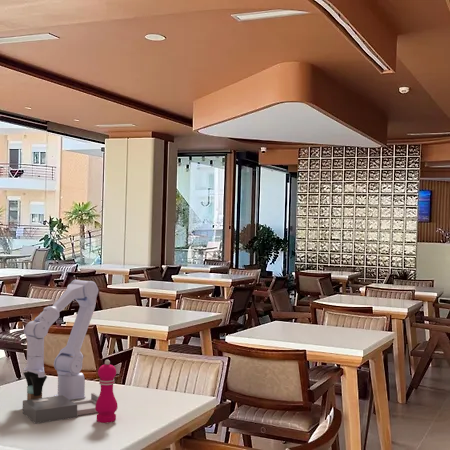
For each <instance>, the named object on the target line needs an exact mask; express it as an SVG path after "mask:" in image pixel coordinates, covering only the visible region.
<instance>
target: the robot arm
mask: <svg viewBox="0 0 450 450" xmlns="http://www.w3.org/2000/svg"><path fill="white" fill-rule="evenodd" d="M99 291H100V290H99V288H98V285H97V283H96V282H95V281H93V280H81V279H73V280H72V281H71V282H70V283H69V284H68V285H67V288H66V290H65V291H64V292H63V293H62V295H60V297H59V298H58V299H57V300H56V301H55V302H54V303H53V305H47V306H45V307H43V311H41V312H40V313H39V314H38V316H36V317H34V320H30V321H29V322H27V323H26V324H25V327H24V329H23V333H24V335H25V337H26V339H25V340H26V345H27V346H26V347H27V348H26V364H25V367H24V368H23V377H24V378H25V381H26V384H27V386H29V385H33V393H34V396H40V395H41V392H42V393H43V388H44V384H45V382H46V380H47V378H48V376H47V375H46V374H45V373H46V372H45V367H44V366H45V365H44V364H45V363H44V362H45V359H44V358H45V337H46V336H47V335H48V332H49V330H50V328H51V326H52V325H53V324H54V323H56V321H57V320H58V319H59V318H60V312H62V311H63V310H64V309H65V308H66V307H67V306H68V305H69V304H71V303H72V302H73V301H74V300H75V301H76V302H77V303H78V305H79V308H78V311H77V314H76V317H75V320H74V323H73V325H72V329H71V331H70V334H69V337H68V340H67V343H66V346H64V347H63V348H61V349H60V350H59V353H58V354H57V355H56V357H55V358H54V360H53V367H54V370H56V374H57V394H54V395H53V396H61V395H63V396H64V397H66V398H68V399H69V400H71V401H73V400H80V399H85V398H86V395H85V389H86V384H85V383H86V382H85V381H86V380H85V375H84V373H83V372H81V371H82V369H83V360H84V355H83V353H82V351H81V349H82V347H83V343H84V340H85V339H86V334H87V332H88V329H89V327H90V323H91V320H92V317H93V314H94V311H95V308H96V301H97V297H98V294H99Z"/></svg>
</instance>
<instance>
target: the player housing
mask: <svg viewBox="0 0 450 450" xmlns="http://www.w3.org/2000/svg"><path fill="white" fill-rule="evenodd" d="M74 402H75V401H73V400H69V399H68V398H66V397H64V396H63V395H61V396H54V395H53V396H49V397H42V398H38V399H31V400H27V399H25V400H22V414H23V415H24V416H26V418H28V419H29V420H31V421H32V422H33V423H34V424H40V423H41V424H42V423H49V422H55V421H61V420H67V419H68V418H69V419H74V418H77V417H78V415H77V404H75V403H74Z"/></svg>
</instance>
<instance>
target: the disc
mask: <svg viewBox="0 0 450 450" xmlns="http://www.w3.org/2000/svg"><path fill="white" fill-rule="evenodd" d="M27 393H28V394H34V393H33V385H29V386H28V385H27V386H26V394H27ZM41 393H42V394H43V391H42V392H41Z"/></svg>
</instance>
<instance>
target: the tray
mask: <svg viewBox="0 0 450 450" xmlns="http://www.w3.org/2000/svg"><path fill="white" fill-rule="evenodd" d="M90 395H91V397H90V399H82V400H76V401H75V400H74V401H73V402H74V403H75V404H77V416H81V415H88V414H89V415H90V414H95V413H98V412H97V411H96V409H95V407H96V402H97V400H98V397H99V395H98V394H97V393H94V392H91V394H90Z"/></svg>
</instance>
